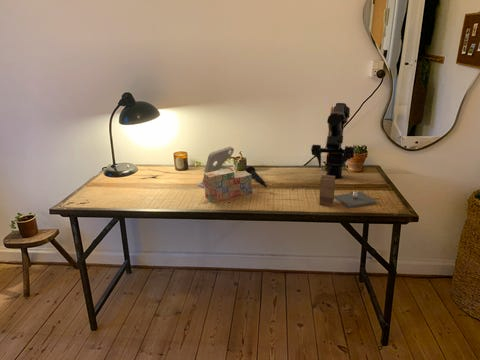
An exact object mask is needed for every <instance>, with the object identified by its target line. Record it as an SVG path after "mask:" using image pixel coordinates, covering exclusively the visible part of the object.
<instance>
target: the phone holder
mask: <svg viewBox="0 0 480 360" xmlns="http://www.w3.org/2000/svg"><path fill="white" fill-rule="evenodd" d="M233 153H234V147H232V146H227V147H224V148H220V149H218V150H216V151H213V152H210V153H209V155H208V156H207V161H206V165H205V169H204V173H207V172H213V171H217V170H222V169H227V168H228V169H230V170H232V171H233V172H234V170H233V168H232V167H229V166H227V165H223V164H224V163H226V161H228V159H230V158H231V156H232V155H233ZM214 163H216V164H215V165H214ZM197 186H198V187H201V188H203V189H205V185H204V176H203V178H202V181H201V182H198V184H197Z"/></svg>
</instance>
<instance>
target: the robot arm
mask: <svg viewBox="0 0 480 360" xmlns="http://www.w3.org/2000/svg"><path fill="white" fill-rule="evenodd" d="M350 113H351V109H350V107H349V106H347V103H345V102H337V103H335V105H334V107H333V109H332V111H331V113H330V115H328V117H327V121H326V122H327V125H328V126H327V127H328V135H327V137H326V143H325V147H326V148H325V147H322V146H321V144H312V145H311V147H310V148H311V149H310V152H311V155H313V156H314V157H315V158H316V159H317V162H318V166H319V168H321V166H322V153H326V167H327V168H326V169H327V171H326V175H330V176H335V180H337V179H342V178H344V177H343V175H342V173H343V168H344V167H346V162H347V161H348V160H351V159H353V158H354V157H355V148H354V146H345V147H344V149H343V148H342V145H343V141H344V135H343V133H344V129H345V127H344V126H345V125H346V124H347V123H348V122H349V121H348V119H350V117H351V116H350V115H351V114H350Z"/></svg>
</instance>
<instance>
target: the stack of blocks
mask: <svg viewBox="0 0 480 360" xmlns="http://www.w3.org/2000/svg"><path fill="white" fill-rule="evenodd" d="M203 177H204V185H205V188H204V194H205V195H204V196H205V199H207V200H208V202H210V203H213V202H218V201H222V200H226V199H231V198H235V197H238V196H244V195H248V194H252V193H253V182H252V181H253V178H252V175H251V174H250V173H248V172H246V171H245V170H243V171H238V172H235V171H234V170H233V171H232V170H230V169H228V168H227V169H222V170H217V171H213V172H207V173H205V172H203Z"/></svg>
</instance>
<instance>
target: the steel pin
mask: <svg viewBox="0 0 480 360" xmlns="http://www.w3.org/2000/svg"><path fill="white" fill-rule="evenodd" d="M358 192H359V191H358V190H357V191H356V190H354V191H353V192H352V193H353V199H357V197H358Z"/></svg>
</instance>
